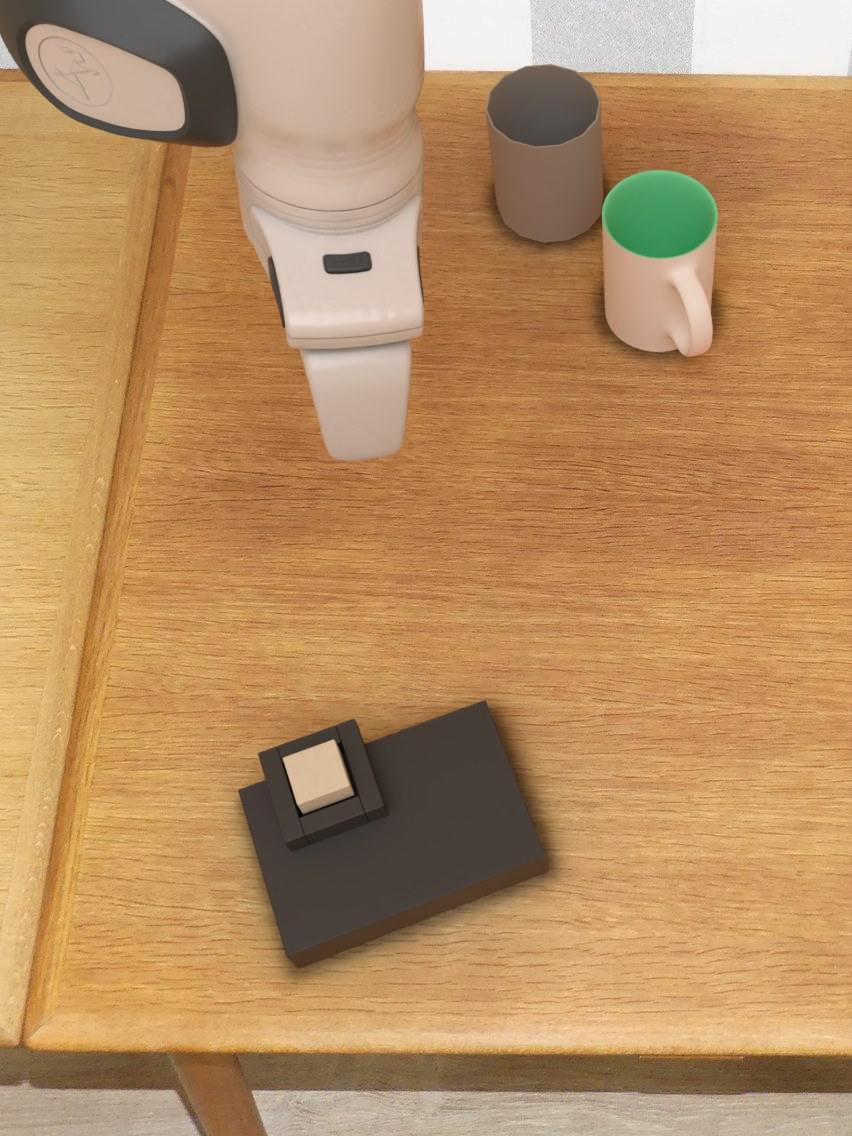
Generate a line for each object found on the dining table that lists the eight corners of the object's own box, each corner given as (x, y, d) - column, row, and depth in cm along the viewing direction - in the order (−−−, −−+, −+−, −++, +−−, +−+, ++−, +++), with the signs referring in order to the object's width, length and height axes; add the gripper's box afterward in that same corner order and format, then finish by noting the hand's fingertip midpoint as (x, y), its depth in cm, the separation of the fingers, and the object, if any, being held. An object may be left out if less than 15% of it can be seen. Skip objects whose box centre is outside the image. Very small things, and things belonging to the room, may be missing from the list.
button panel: (548, 871, 89) (544, 846, 84) (298, 969, 86) (279, 949, 81) (484, 704, 94) (477, 673, 89) (245, 792, 91) (225, 764, 86)
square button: (355, 795, 86) (349, 785, 85) (303, 814, 86) (297, 805, 84) (339, 749, 87) (334, 738, 86) (288, 767, 87) (282, 757, 85)
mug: (753, 367, 107) (765, 275, 97) (656, 406, 105) (658, 316, 96) (681, 253, 111) (685, 155, 102) (587, 289, 110) (582, 193, 100)
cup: (564, 258, 111) (558, 164, 102) (477, 214, 113) (463, 118, 104) (622, 188, 114) (621, 91, 105) (537, 147, 116) (529, 48, 107)
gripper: (242, 49, 74) (266, 243, 85) (290, 356, 64) (309, 527, 76) (366, 44, 75) (372, 235, 87) (431, 343, 66) (428, 512, 77)
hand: (343, 374), depth 81 cm, fingers open, 8 cm apart
